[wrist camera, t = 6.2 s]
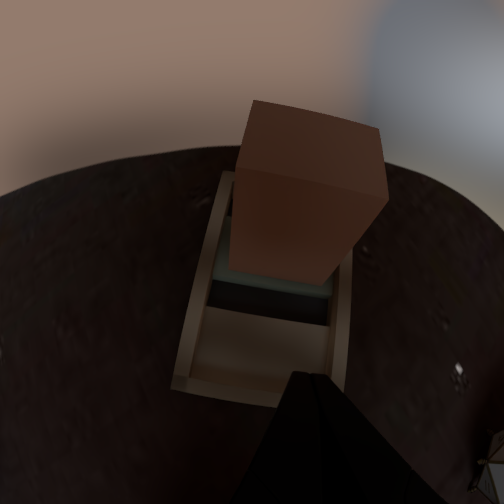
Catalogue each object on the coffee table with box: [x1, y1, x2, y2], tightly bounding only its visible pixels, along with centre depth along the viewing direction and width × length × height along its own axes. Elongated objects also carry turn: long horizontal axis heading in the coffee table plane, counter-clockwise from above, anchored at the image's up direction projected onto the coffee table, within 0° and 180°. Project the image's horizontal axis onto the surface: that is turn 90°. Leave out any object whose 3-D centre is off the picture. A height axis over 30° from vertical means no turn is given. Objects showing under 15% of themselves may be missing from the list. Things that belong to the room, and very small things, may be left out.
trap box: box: [170, 170, 352, 408], centre depth 19 cm, size 14×9×2 cm, turn 171°
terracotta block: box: [228, 100, 389, 286], centre depth 16 cm, size 4×6×9 cm
